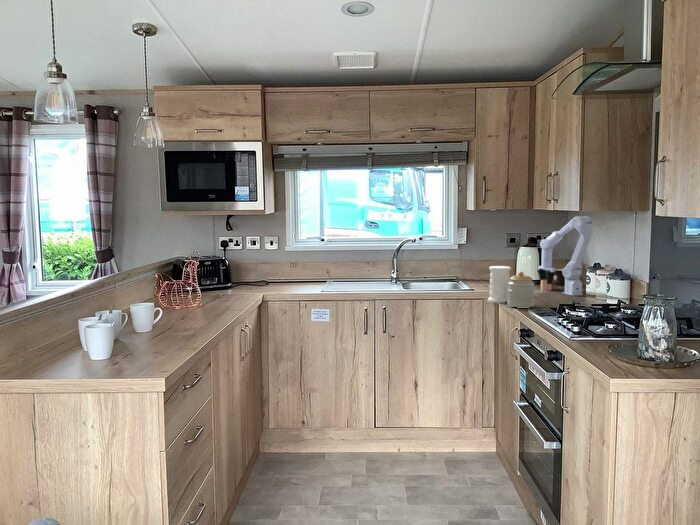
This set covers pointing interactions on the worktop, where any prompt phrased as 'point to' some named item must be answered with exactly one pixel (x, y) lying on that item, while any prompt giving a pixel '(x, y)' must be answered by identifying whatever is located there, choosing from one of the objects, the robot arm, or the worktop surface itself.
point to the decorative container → (499, 283)
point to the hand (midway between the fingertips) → (545, 282)
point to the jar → (520, 291)
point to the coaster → (540, 291)
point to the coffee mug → (559, 278)
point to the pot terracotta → (545, 285)
